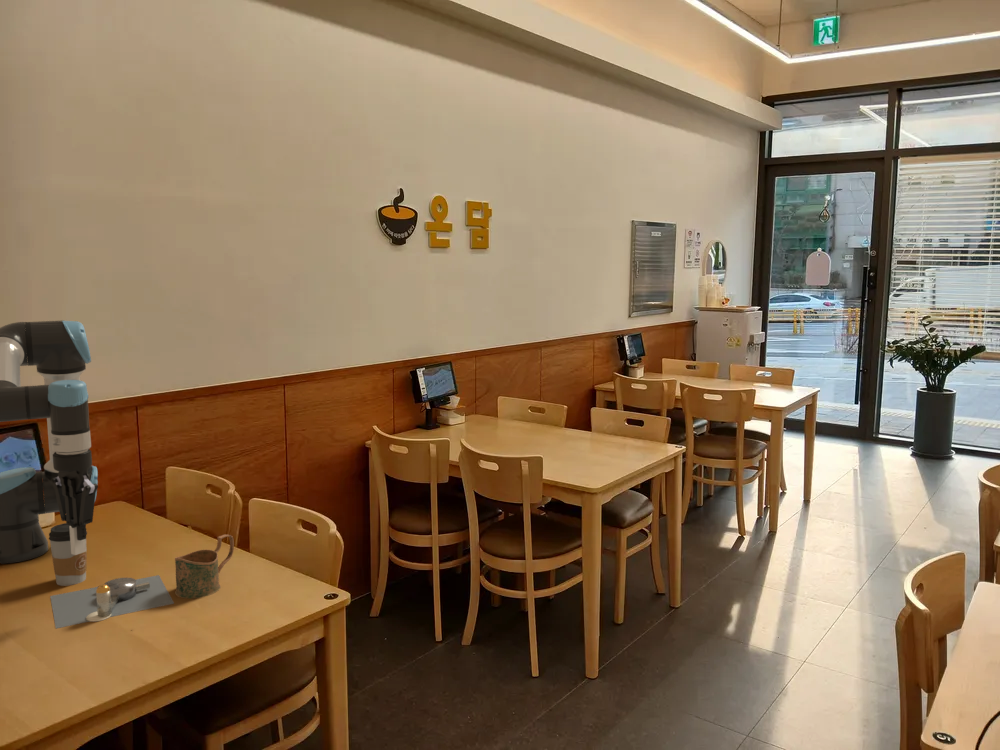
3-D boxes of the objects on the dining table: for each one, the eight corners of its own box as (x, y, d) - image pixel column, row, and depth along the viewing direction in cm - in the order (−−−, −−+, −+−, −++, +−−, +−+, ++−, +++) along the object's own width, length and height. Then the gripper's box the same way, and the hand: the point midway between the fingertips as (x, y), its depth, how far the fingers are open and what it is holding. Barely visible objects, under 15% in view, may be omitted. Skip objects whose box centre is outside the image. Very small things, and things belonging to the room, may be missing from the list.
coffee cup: (74, 593, 189) (69, 533, 187) (44, 590, 191) (39, 531, 189) (98, 579, 197) (94, 522, 195) (69, 577, 199) (65, 520, 197)
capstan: (99, 590, 187) (97, 561, 186) (151, 587, 189) (149, 559, 188) (73, 620, 171) (71, 589, 170) (131, 616, 173) (129, 585, 172)
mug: (251, 581, 197) (249, 535, 195) (197, 607, 181) (195, 558, 179) (216, 573, 202) (214, 528, 200) (161, 599, 186) (159, 550, 184)
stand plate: (50, 600, 184) (50, 594, 184) (159, 579, 197) (158, 573, 197) (56, 635, 167) (56, 628, 167) (175, 609, 180) (174, 603, 180)
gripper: (36, 450, 171) (44, 552, 174) (75, 458, 165) (82, 563, 168) (69, 443, 177) (76, 542, 181) (106, 450, 172) (113, 552, 175)
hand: (79, 552), depth 175 cm, fingers closed
